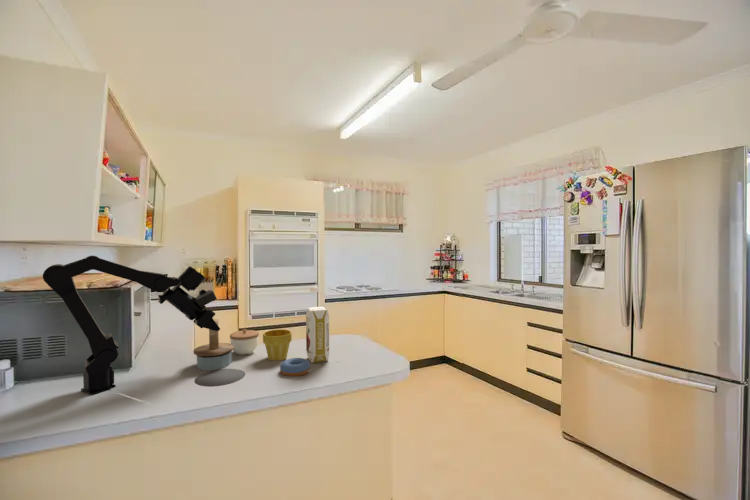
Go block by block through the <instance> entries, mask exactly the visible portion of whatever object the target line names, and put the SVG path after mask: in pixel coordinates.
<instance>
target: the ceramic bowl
mask: <svg viewBox="0 0 750 500" xmlns="http://www.w3.org/2000/svg"><path fill="white" fill-rule="evenodd" d="M232 352H233V350H232V351H231V352H229V353H226V354H222V355H216V356H197V355H196V367H197V369H198V370H202V371H214V370H219V369H224V368H225V367H228V366H230V365H231V364H232V363H233V361H232V359H233V358H232V356H233V355H232Z"/></svg>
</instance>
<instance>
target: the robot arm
mask: <svg viewBox="0 0 750 500" xmlns="http://www.w3.org/2000/svg"><path fill="white" fill-rule="evenodd" d="M93 270H94V271H97V272H101V273H104V274H107V275H111V276H114V277H118V278H121V279H125V280H127V281H128V280H129V281H131V282H135V283H137V284H139V285H141V286H143V287H145V288H147V289H150V290H151V291H153V292H156V293H163V294H158V295H157V297H158V303H159V304H160V305H163V303H165V302H166V301H167V303H169V304H171V305H172V306H173V307H174V308H175V309H176V310H178V311H179V312H180V313H182V314H183V315H185V316H184V317H186V318H187V319H188V320H190V321H193V323H194V324H195V325H196V326H197V327H199V328H200V329H208V330H209V329H211V330H215V331H218V332H219V331H220V330H221V328H220V327H219V324H218V325H217V324H216V322H215V321H214V320H213V319H214V317H215V316H216V312H215V311H213V310H212V309H210V308H206V305H208V304H210V303H212V302H215V301H217V300H218V298H217V296H216V294H215V292H214V290H212V289H210V290H209V289H208V290H205V289H200V290H199V292H198V295H197V296H196V297H194V296H192V295H191V294H189V293H188V292H190V291H193V292H194V291H195V290H196V289H197V288H198V287H199V286H200V285H201V284H202V283H203V282H205V280H206V279H207V277H205V275H203V274H202V273H201V272H199V271H198V270H196V269H195V268H193V267H192V266H188V267H187V268H186V269H185V270H184V271H183V272H182V273H181V274H180V275H179V276H178V277H175V276H173V277H172V276H167V275H166V274H163V273H159V272H154V271H147V270H146V271H145V270H138V269H137V268H133V267H130V266H127V265H123V264H120V263H116V262H114V261H110V260H107V259H103V258H101V257H99V256H97V255H92V254H91V255H88V256H86V257H84V258H82V259H81V258H80V259H79V260H75V261H72V262H69V263H66V264H62V263H59V264H58V263H56V264H52V265H49V266H48V267H47V268H46V269H45V270H44V271H43V274H42V280H43V281H44V282H45V283H46V285H48V286H49V288H50V289H51V290H52V291H54V292H55V294H57V295H58V296H59V297H60V298H61V299H62V301H63V302H64V303H65V306H67V308H68V310H69V312H70V314H71V315H72V317H73V318H74V320H75V321H76V323H77V325H78V326H79V328H80V329H81V331H82V332H83V334H84V335H85V338H86V339H87V341H88V343H89V347H90V351H91V355H89V356H88V357H87V358H86V359H85V361H84V362H85V363H84V364H85V369H84V370H83V371H82V375H83V387H82V388H81V389H80V391H81V392H83V393H86V394H89V395H95V394H98V393H102V392H104V391H107V390H110V389H114V388H116V384H115V370H114V369H113V366H112V365H111V364H113V363H114V362H115V361H116V360H117V359H118V356H119V352H118V349H119V348H120V346H119V343H118V342H117V341H116V340H115V339H114V337H113V334H112V332H110V333H108V334H106V333H104V331H102V329H101V328H100V327H99V325H98V323H97V322H96V320H95V318H94V317H93V314H92V313H91V312H90V310H89V307H87V305H86V303H85V302H84V300H83V299H82V297H81V296H80V294H79V292H78V289H77V286H76V284H75V280H74V277H77V276H79V275H82V274H85V273H87V272H89V271H93ZM183 288H184V289H185V290H184V289H183Z"/></svg>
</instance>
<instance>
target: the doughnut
mask: <svg viewBox="0 0 750 500" xmlns="http://www.w3.org/2000/svg"><path fill="white" fill-rule="evenodd" d="M279 366H280V367H279V372H280V373H281V374H282V375H283V376H287V377H301V376H302V377H303V376H304V375H306V374H308V373H309V371H310V369H311V362H310V360H309V359H306V358H303V357H292V358H288V359H284V360H282V362H281V364H280V365H279Z"/></svg>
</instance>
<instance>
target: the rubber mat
mask: <svg viewBox="0 0 750 500" xmlns="http://www.w3.org/2000/svg"><path fill="white" fill-rule="evenodd" d="M245 376H246V372H245V371H243V370H241V369H237V368H220V369H214V370H209V371H207V372H205V373H202V374H200V375H198V376H196V377H195V379H194V383H195V384H196V385H198V386H201V387H210V388H211V387H221V386H225V385H227V386H228V385H231V384H233V383H237V382H239V381H240V380H242V379H244V377H245Z"/></svg>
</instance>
